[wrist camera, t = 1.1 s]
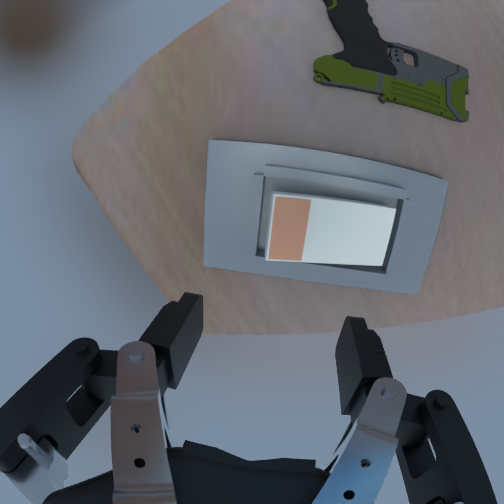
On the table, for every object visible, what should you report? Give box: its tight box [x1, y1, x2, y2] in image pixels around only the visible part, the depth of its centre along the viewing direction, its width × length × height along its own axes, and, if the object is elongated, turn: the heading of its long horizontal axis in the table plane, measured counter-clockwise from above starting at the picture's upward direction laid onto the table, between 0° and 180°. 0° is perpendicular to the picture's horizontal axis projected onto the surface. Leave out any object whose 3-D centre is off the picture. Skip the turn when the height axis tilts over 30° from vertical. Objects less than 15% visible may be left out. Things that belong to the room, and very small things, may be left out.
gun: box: [314, 0, 469, 122], centre depth 20 cm, size 2×19×15 cm
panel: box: [203, 140, 449, 294], centre depth 27 cm, size 26×14×4 cm, turn 85°
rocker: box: [264, 191, 396, 266], centre depth 24 cm, size 12×6×1 cm, turn 85°
